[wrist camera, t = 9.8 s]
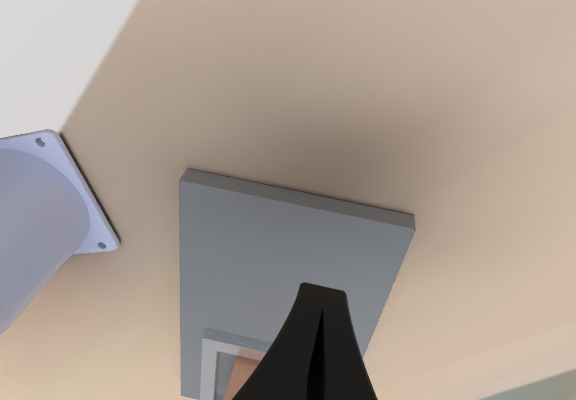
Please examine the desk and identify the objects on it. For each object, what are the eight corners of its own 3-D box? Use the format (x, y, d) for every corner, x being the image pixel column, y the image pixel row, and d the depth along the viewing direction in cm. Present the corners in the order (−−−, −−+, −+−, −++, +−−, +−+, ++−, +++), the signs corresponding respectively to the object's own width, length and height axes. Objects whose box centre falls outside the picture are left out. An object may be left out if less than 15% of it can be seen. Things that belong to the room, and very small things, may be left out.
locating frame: (311, 423, 32) (310, 433, 31) (202, 398, 32) (199, 408, 32) (334, 356, 27) (333, 367, 26) (206, 327, 28) (202, 338, 27)
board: (334, 415, 33) (333, 430, 32) (186, 381, 34) (180, 395, 33) (413, 215, 22) (415, 229, 21) (187, 168, 22) (179, 180, 21)
